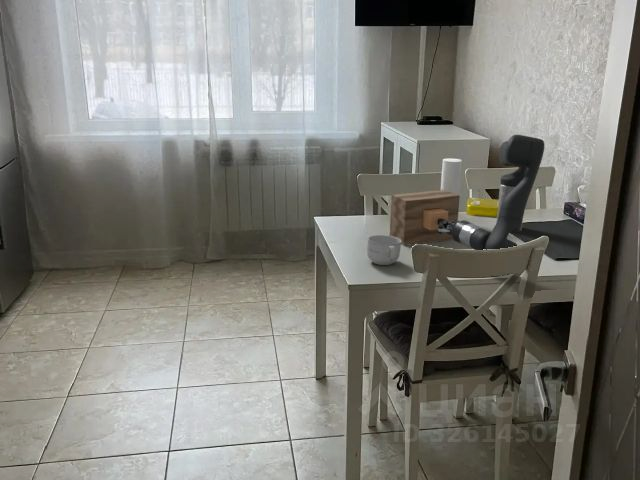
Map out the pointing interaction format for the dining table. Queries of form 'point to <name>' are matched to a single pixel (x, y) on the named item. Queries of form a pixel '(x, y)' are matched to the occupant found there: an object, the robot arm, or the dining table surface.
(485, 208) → the element tile
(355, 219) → the dining table surface
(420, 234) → the wooden box
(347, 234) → the dining table surface
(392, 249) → the teacup
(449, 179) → the cylindrical container
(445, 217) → the light brown block
